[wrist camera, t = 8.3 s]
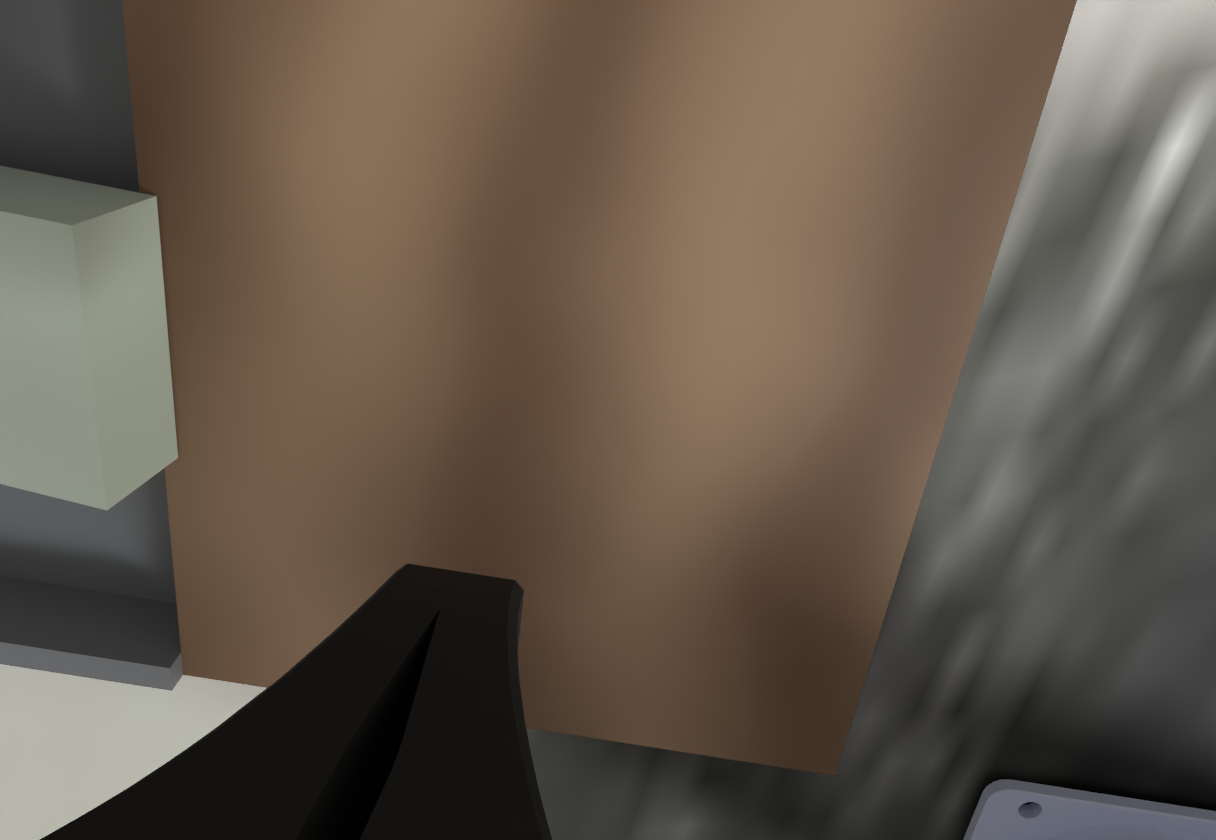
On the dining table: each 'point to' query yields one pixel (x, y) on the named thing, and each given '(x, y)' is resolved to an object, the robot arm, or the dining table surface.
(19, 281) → the tile sage
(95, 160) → the tray
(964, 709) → the dining table surface
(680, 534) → the walnut board
